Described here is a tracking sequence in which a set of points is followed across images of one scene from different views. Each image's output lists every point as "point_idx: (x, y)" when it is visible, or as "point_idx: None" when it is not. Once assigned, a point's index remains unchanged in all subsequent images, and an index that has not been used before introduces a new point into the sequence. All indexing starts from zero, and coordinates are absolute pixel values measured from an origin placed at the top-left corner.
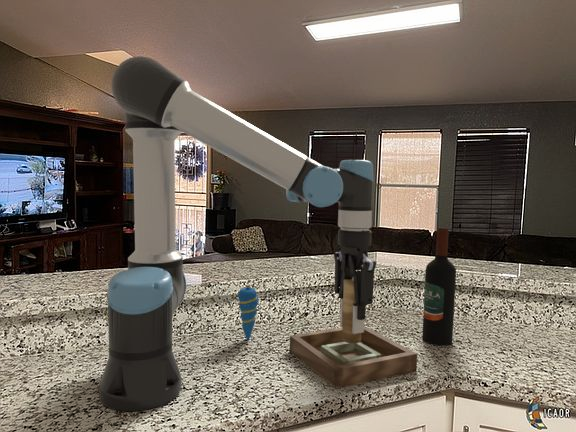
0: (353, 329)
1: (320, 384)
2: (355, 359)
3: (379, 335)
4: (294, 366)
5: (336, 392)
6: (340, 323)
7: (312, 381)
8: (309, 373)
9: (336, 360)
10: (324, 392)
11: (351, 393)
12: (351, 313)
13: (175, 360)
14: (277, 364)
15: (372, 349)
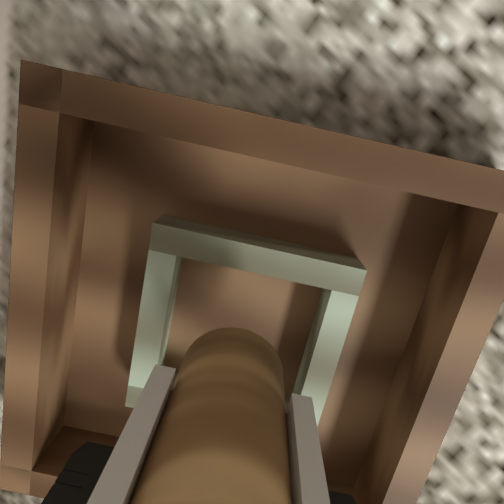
0: (157, 381)
1: (141, 49)
2: (145, 283)
3: None
4: (354, 75)
5: (48, 55)
6: (308, 407)
7: (183, 38)
8: (253, 85)
9: (222, 233)
10: (73, 8)
11: (13, 103)
12: (158, 464)
13: None
14: (428, 15)
15: None
